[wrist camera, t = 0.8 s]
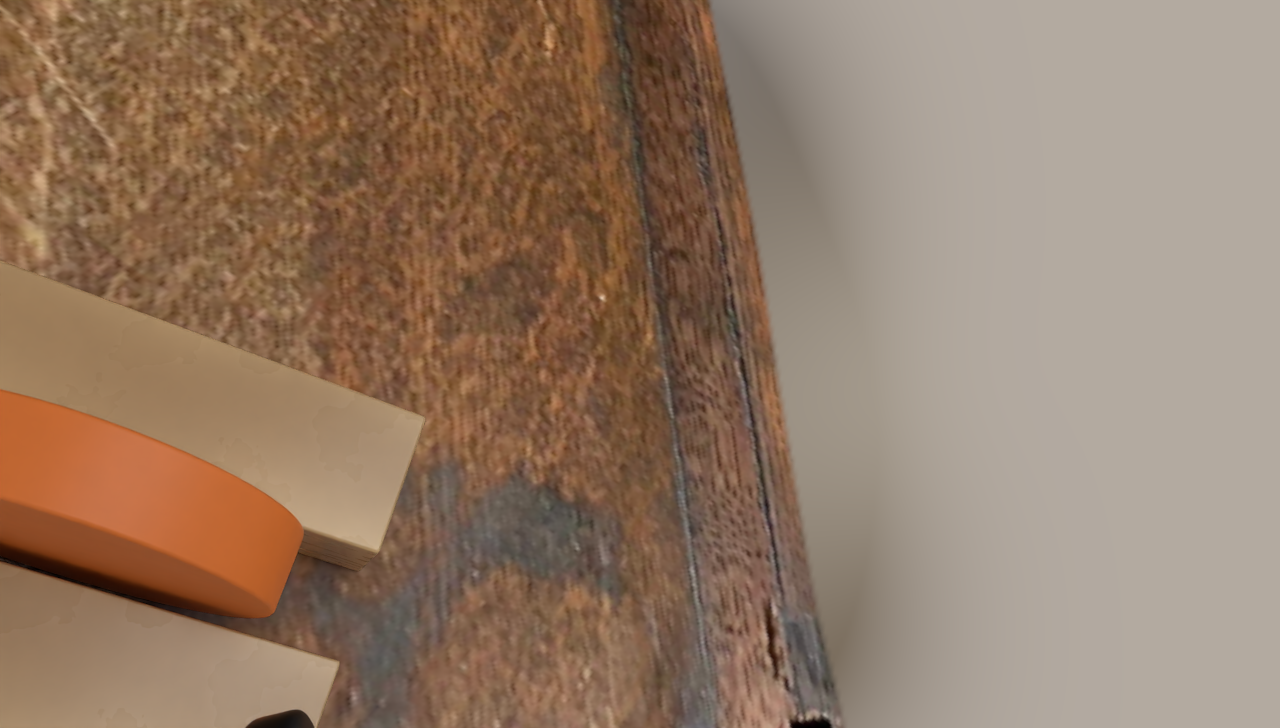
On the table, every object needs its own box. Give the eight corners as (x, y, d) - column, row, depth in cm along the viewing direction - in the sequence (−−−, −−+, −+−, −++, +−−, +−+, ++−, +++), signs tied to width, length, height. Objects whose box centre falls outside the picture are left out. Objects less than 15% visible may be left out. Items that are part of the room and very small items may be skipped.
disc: (258, 634, 21) (293, 589, 15) (-113, 525, 19) (-242, 423, 13) (285, 564, 22) (329, 494, 16) (-71, 452, 20) (-176, 323, 14)
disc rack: (269, 823, 20) (281, 833, 18) (-314, 679, 18) (-382, 669, 15) (404, 446, 24) (427, 416, 22) (-66, 278, 21) (-93, 224, 19)
